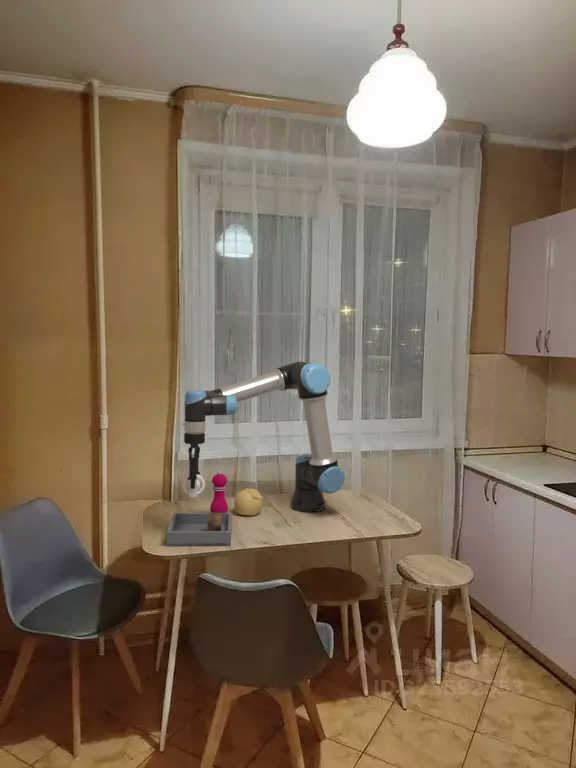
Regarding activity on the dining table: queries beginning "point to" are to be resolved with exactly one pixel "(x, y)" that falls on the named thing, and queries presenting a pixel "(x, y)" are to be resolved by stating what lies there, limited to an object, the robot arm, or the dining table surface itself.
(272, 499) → the dining table surface
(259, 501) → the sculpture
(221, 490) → the pepper mill
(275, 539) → the dining table surface
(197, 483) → the ring around a ball
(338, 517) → the dining table surface
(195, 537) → the tray
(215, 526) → the walnut cylinder
